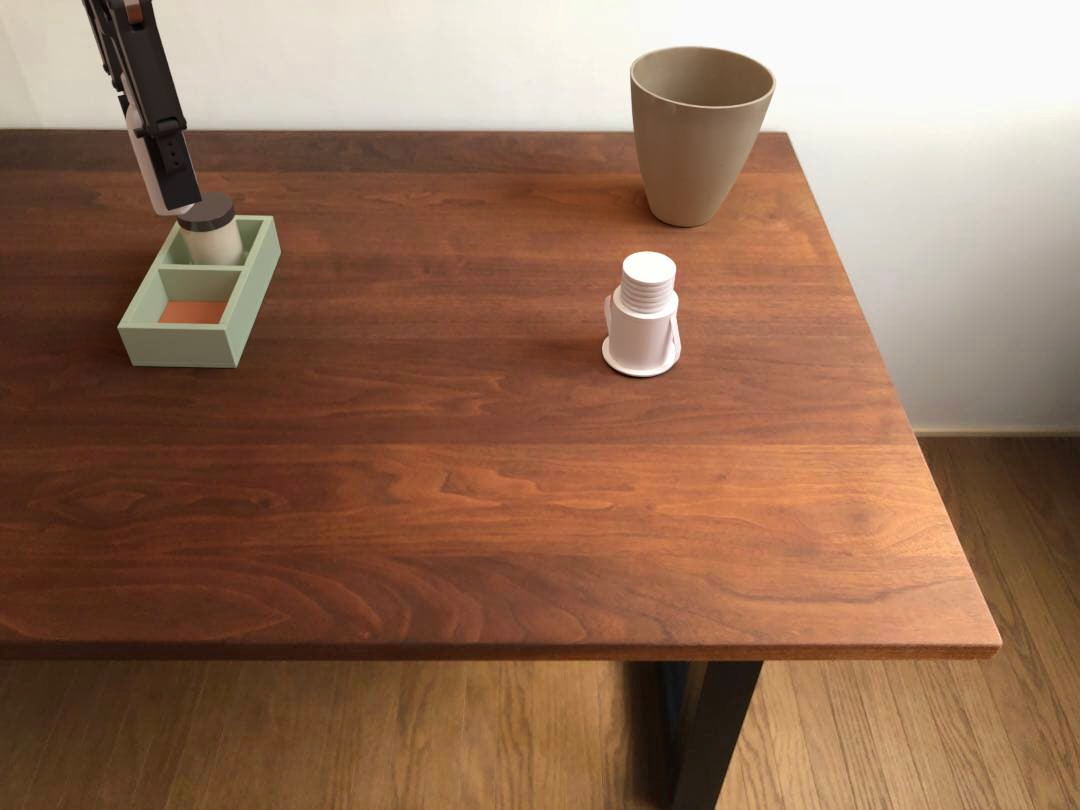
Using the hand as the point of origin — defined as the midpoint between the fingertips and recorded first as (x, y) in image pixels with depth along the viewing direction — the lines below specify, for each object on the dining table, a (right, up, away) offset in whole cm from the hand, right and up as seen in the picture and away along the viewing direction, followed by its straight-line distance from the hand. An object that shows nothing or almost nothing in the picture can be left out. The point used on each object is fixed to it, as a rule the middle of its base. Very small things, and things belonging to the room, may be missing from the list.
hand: (171, 185), depth 72 cm
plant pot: (+46, +5, +30) cm, 55 cm away
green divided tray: (-3, -8, +16) cm, 19 cm away
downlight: (+39, -13, +12) cm, 43 cm away
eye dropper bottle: (0, -1, +1) cm, 2 cm away
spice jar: (-3, -4, +19) cm, 20 cm away
